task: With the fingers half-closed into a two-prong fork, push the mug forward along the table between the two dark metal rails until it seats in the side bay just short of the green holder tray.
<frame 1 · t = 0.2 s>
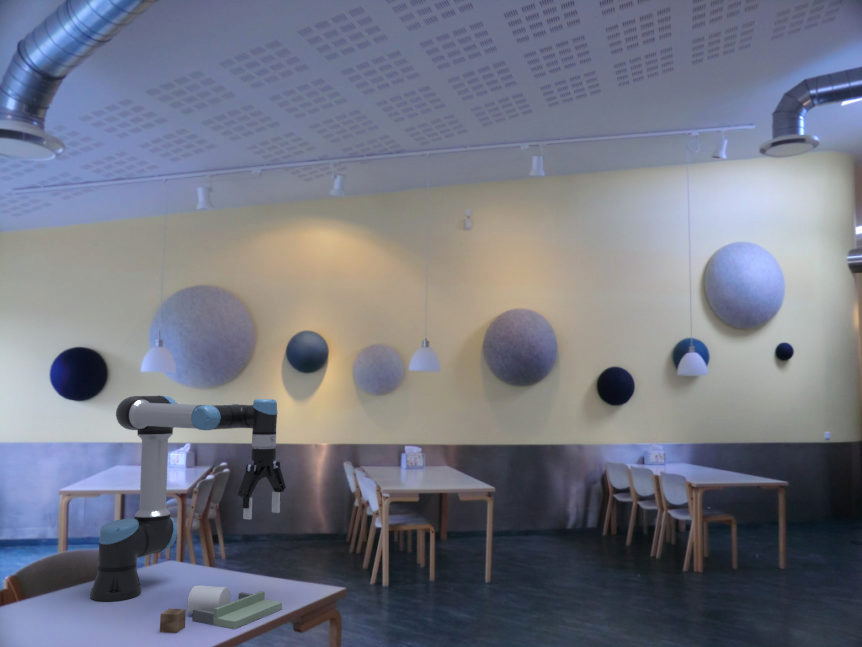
hand: (261, 515, 228), 28 cm above the table, fingers open, 13 cm apart
green holder tray: (248, 616, 215), on the table
mug: (212, 612, 219), on the table
walnut block: (172, 629, 203), on the table
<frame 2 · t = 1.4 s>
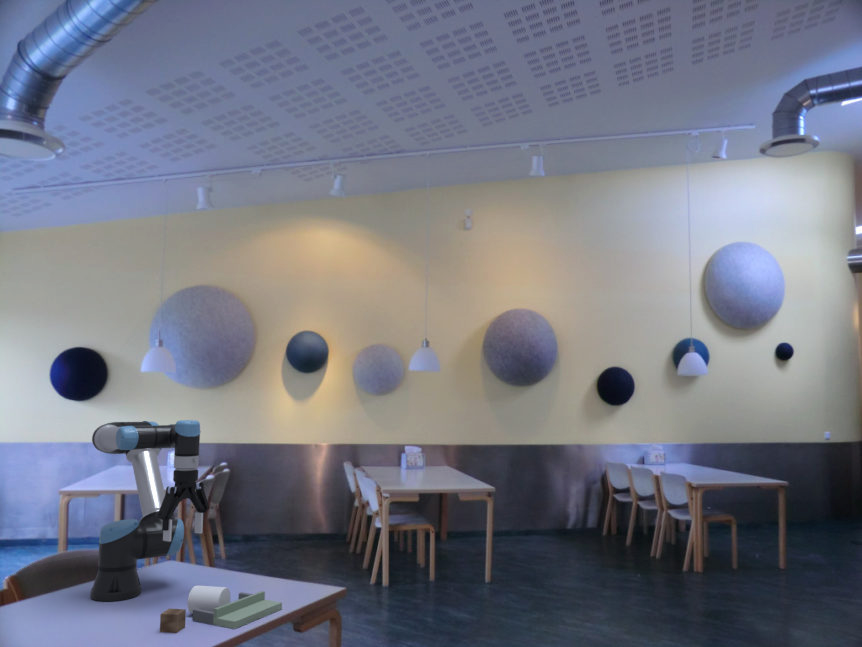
hand: (183, 537, 230), 20 cm above the table, fingers open, 13 cm apart
nothing on the table moved.
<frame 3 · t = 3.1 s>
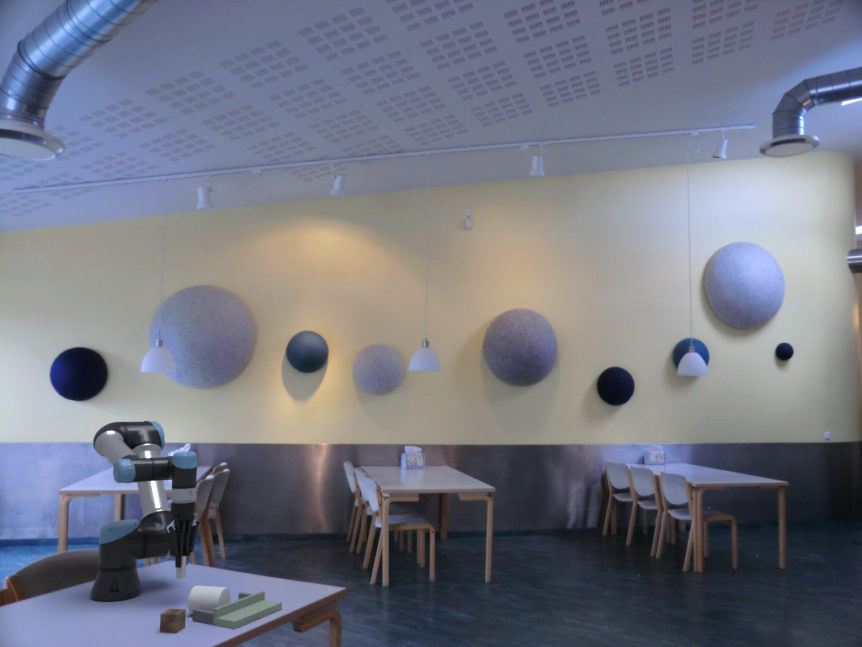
hand: (180, 577, 228), 8 cm above the table, fingers closed
nothing on the table moved.
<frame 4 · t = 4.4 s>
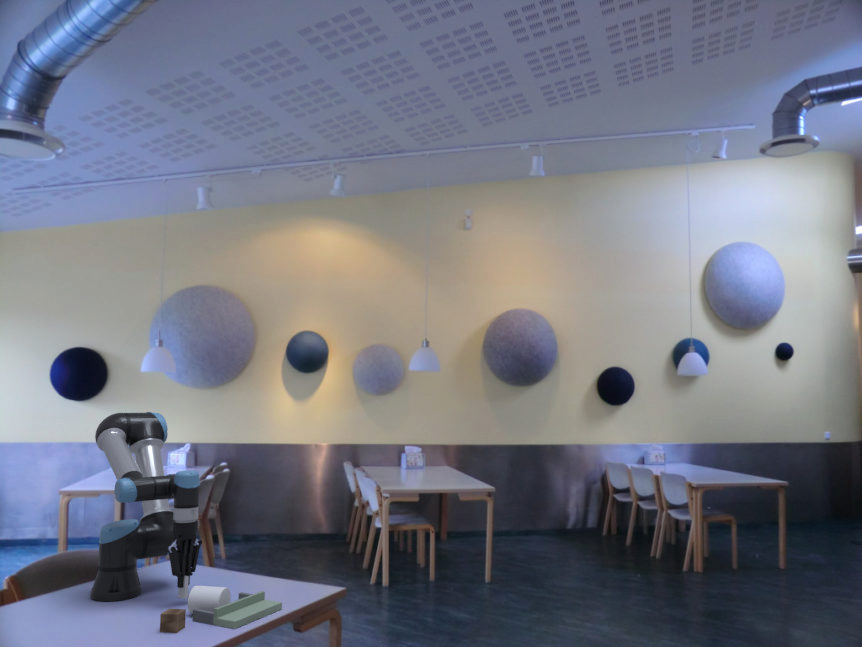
hand: (183, 597, 227), 2 cm above the table, fingers closed
nothing on the table moved.
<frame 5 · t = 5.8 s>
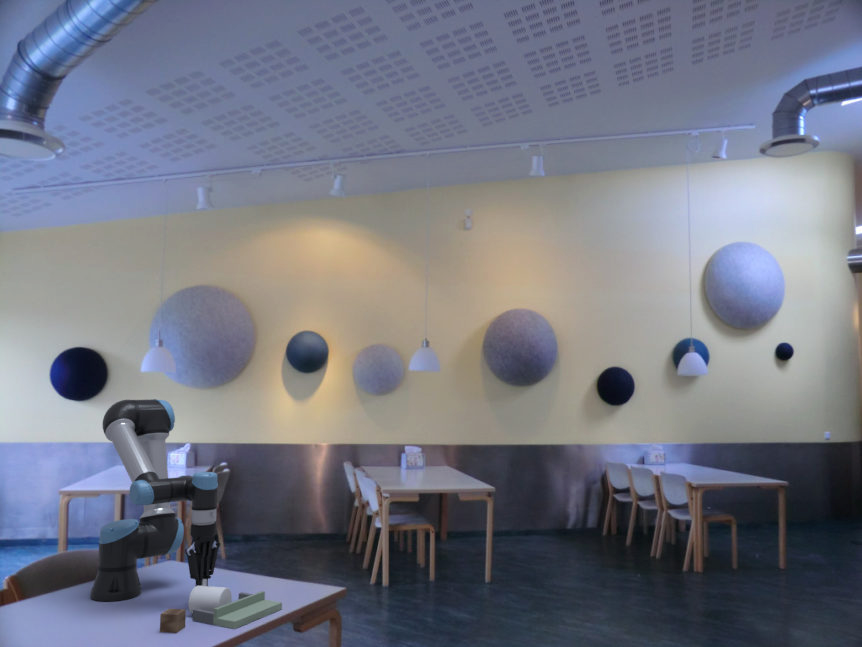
hand: (201, 600, 223), 2 cm above the table, fingers closed
mug: (213, 613, 219), on the table, touching gripper
everything else where it was.
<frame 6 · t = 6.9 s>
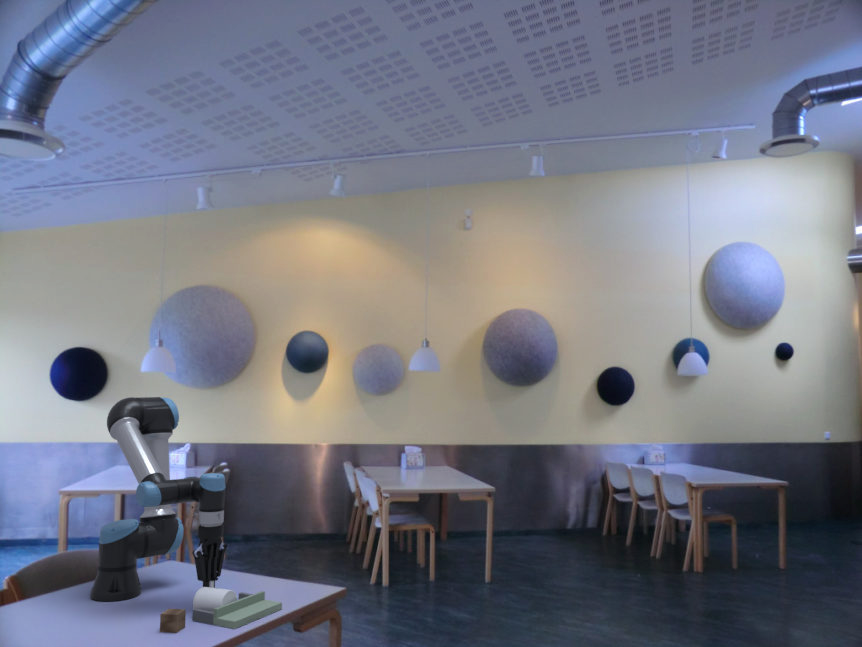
hand: (208, 602, 222), 2 cm above the table, fingers closed
mug: (218, 615, 217), on the table, touching green holder tray, gripper
everything else where it was.
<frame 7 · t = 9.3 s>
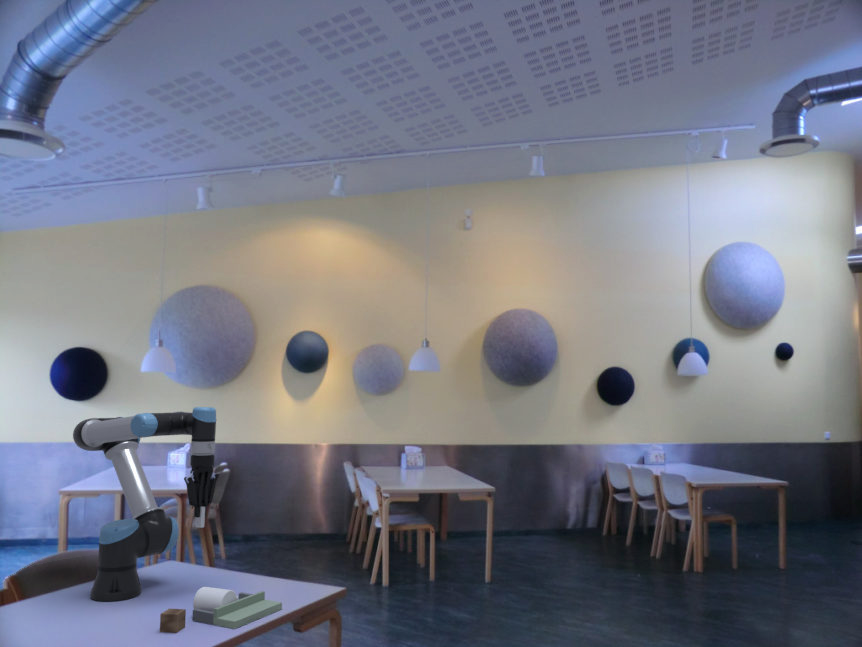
hand: (199, 526, 236), 22 cm above the table, fingers closed
mug: (219, 615, 217), on the table, touching green holder tray
everything else where it was.
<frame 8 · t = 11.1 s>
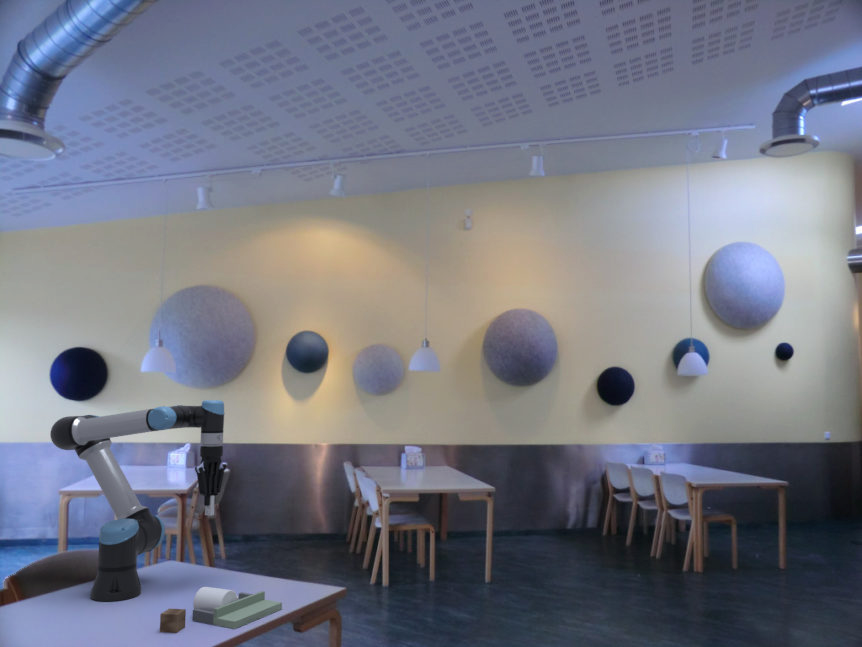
hand: (209, 514, 247), 24 cm above the table, fingers closed
mug: (219, 615, 217), on the table
everything else where it was.
at the end: mug inside the target area (2.2 cm from its centre), on the table; mug tilted 0° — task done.
